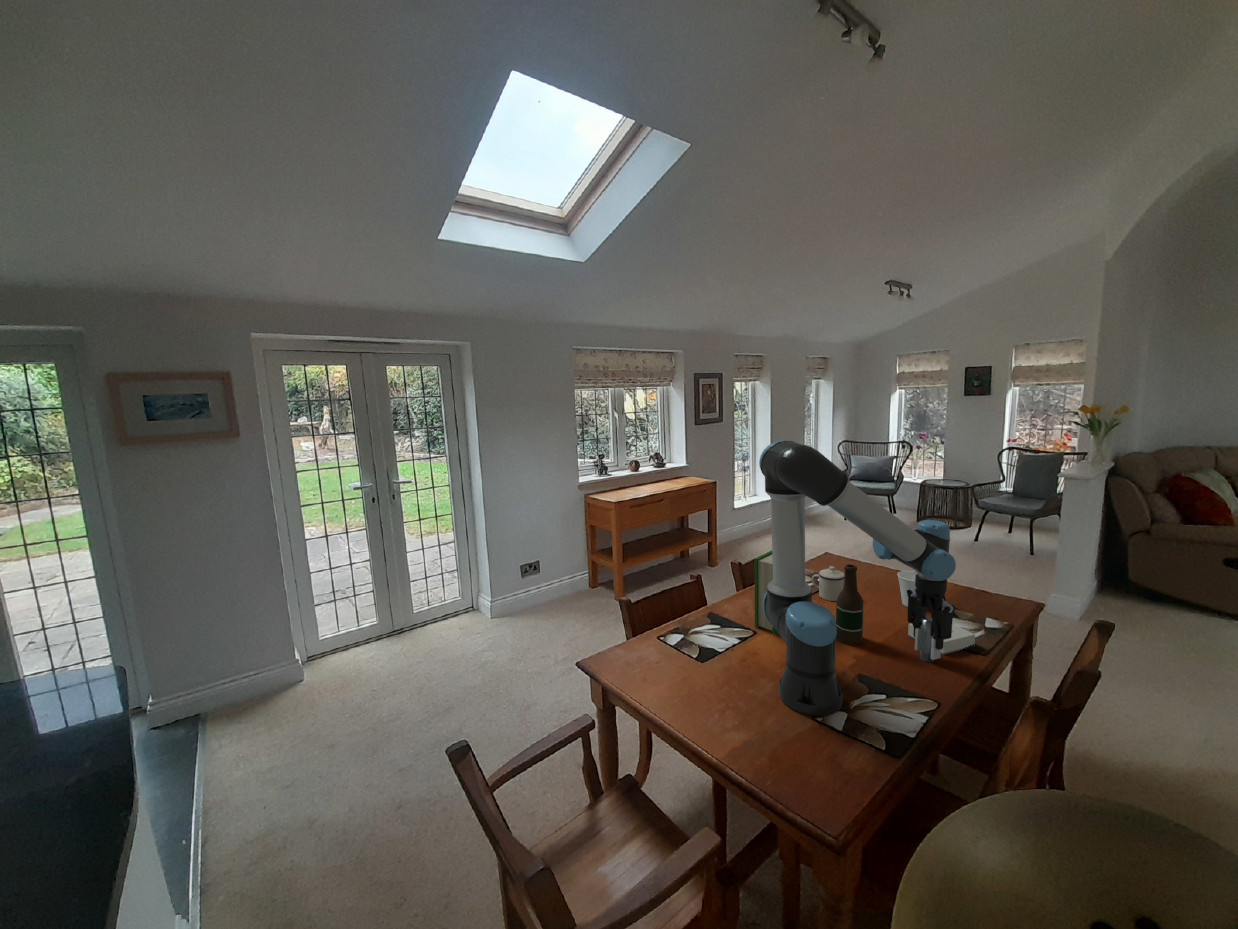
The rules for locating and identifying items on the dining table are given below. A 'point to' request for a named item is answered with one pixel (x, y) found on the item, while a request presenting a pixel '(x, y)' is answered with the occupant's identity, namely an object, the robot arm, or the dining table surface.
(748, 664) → the dining table surface
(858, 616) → the beer bottle
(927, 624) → the pin
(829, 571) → the teacup with lid
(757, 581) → the hardback book
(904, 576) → the cup
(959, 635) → the bore block
